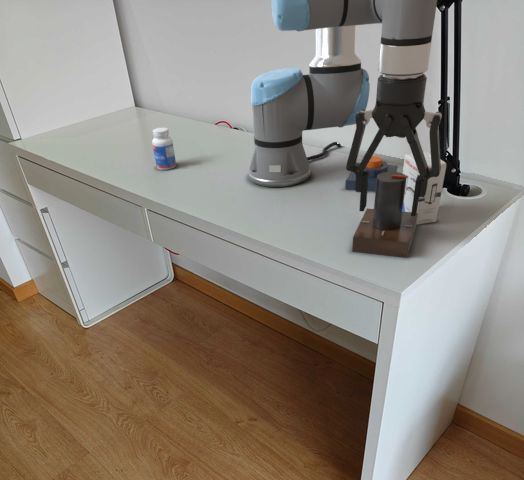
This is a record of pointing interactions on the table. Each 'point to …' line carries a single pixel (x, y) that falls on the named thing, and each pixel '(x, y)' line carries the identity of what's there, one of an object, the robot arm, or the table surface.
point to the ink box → (432, 197)
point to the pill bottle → (163, 149)
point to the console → (384, 236)
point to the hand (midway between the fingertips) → (388, 210)
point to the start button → (375, 162)
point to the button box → (370, 176)
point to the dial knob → (389, 200)
